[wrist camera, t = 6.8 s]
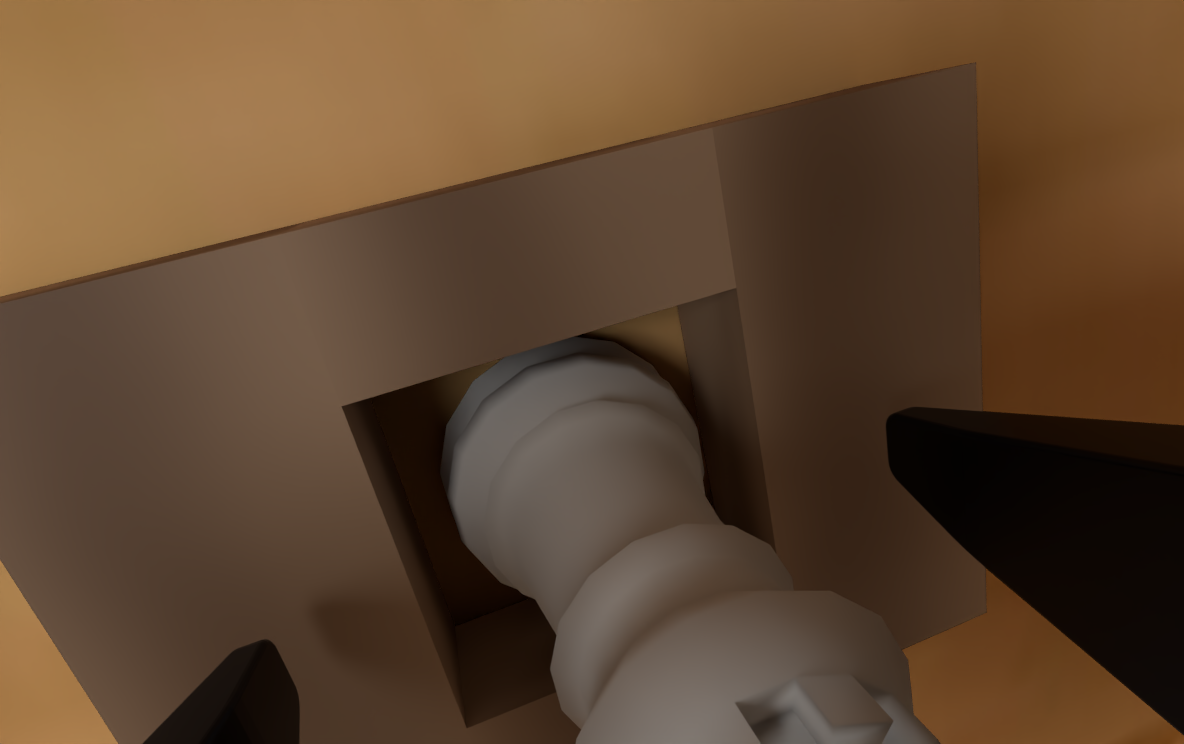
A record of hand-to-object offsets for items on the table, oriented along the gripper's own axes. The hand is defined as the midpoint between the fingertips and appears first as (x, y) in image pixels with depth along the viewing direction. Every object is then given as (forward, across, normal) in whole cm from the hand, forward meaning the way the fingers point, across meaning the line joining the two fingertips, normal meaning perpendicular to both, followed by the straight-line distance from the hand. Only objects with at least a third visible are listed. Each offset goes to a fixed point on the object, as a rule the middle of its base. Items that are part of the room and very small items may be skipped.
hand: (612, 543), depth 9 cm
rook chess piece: (+4, 0, 0) cm, 4 cm away
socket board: (+3, 0, 0) cm, 3 cm away
